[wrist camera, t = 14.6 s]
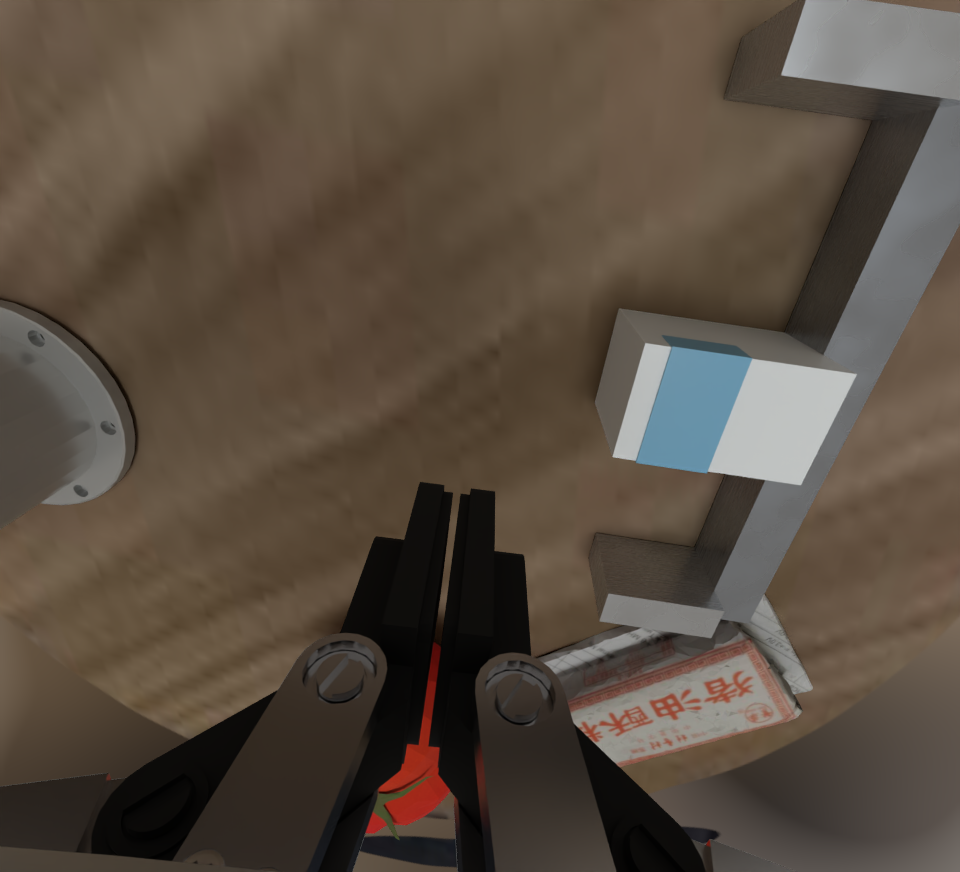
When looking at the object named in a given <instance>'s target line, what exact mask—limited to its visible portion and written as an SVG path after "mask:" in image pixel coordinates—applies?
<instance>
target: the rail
mask: <svg viewBox="0 0 960 872" xmlns="http://www.w3.org/2000/svg"><path fill="white" fill-rule="evenodd" d="M724 100H731V101H738V102H745V103H752V104H759V105H766V106H774V107H781V108H788V109H795V110H802V111H809V112H816V113H823V114H831V115H838V116H845V117H852V118H859V119H866V120H873V121H872V124H871V126H870V128H869V131H868V133H867V136H866V138H865V140H864V143H863V145H862V148H861V150H860V152H859V155H858V157H857V160H856V162H855V164H854V167H853V169H852V172H851V174H850V176H849V179H848V181H847V184H846V186H845V188H844V191H843V193H842V196H841V198H840V200H839V203H838V205H837V208H836V210H835V212H834V215H833V217H832V220H831V222H830V224H829V227H828V229H827V232H826V234H825V236H824V239H823V241H822V244H821V246H820V248H819V251H818V253H817V256H816V258H815V260H814V263H813V265H812V268H811V270H810V272H809V275H808V277H807V280H806V282H805V284H804V287H803V289H802V292H801V294H800V296H799V299H798V301H797V304H796V306H795V308H794V311H793V313H792V315H791V318H790V320H789V323H788V325H787V327H786V330H785V332H784V333H786V334H788V335H789V336H791V337H793V338H795V339H796V340H798V341H800V342H802V343H803V344H805V345H807V346H809V347H810V348H812V349H814V350H816V351H817V352H819V353H821V354H823V355H824V356H826V357H828V358H830V359H831V360H833V361H835V362H837V363H838V364H840V365H842V366H844V367H845V368H847V369H849V370H851V371H852V372H854V373H856V374H857V375H856V377H855V379H854V381H853V383H852V385H851V387H850V389H849V391H848V393H847V395H846V397H845V399H844V401H843V403H842V405H841V407H840V409H839V411H838V413H837V415H836V417H835V419H834V421H833V423H832V425H831V427H830V429H829V431H828V433H827V435H826V437H825V439H824V441H823V442H822V444H821V446H820V448H819V450H818V452H817V454H816V456H815V458H814V460H813V462H812V464H811V466H810V468H809V470H808V472H807V474H806V476H805V478H804V480H803V482H802V484H801V485H795V484H789V483H782V482H775V481H769V480H762V479H755V478H748V477H742V476H735V475H728V474H725V476H724V479H723V481H722V483H721V486H720V488H719V491H718V493H717V495H716V498H715V500H714V503H713V505H712V507H711V510H710V512H709V514H708V517H707V519H706V522H705V524H704V526H703V529H702V531H701V534H700V536H699V538H698V541H697V543H696V546H695V548H693V547H686V546H679V545H673V544H666V543H660V542H653V541H646V540H640V539H633V538H627V537H620V536H613V535H607V534H600V533H596V534H595V538H594V541H593V544H592V548H591V551H590V555H589V558H588V559H589V564H590V570H591V576H592V582H593V587H594V593H595V599H596V605H597V611H598V616H599V621H602V622H608V623H615V624H621V625H628V626H634V627H641V628H647V629H654V630H661V631H667V632H674V633H680V634H687V635H693V636H700V637H706V638H712V636H713V634H714V632H715V630H716V627H717V625H718V623H719V621H720V619H722V620H729V621H735V622H742V623H748V624H749V622H750V620H751V618H752V616H753V614H754V612H755V610H756V608H757V607H758V605H759V603H760V601H761V599H762V597H763V595H764V593H765V591H766V589H767V588H768V586H769V584H770V582H771V580H772V578H773V576H774V574H775V572H776V571H777V569H778V567H779V565H780V563H781V561H782V559H783V557H784V555H785V554H786V552H787V550H788V548H789V546H790V544H791V542H792V540H793V538H794V537H795V535H796V533H797V531H798V529H799V527H800V525H801V523H802V521H803V520H804V518H805V516H806V514H807V512H808V510H809V508H810V506H811V504H812V502H813V501H814V499H815V497H816V495H817V493H818V491H819V489H820V487H821V485H822V484H823V482H824V480H825V478H826V476H827V474H828V472H829V470H830V468H831V467H832V465H833V463H834V461H835V459H836V457H837V455H838V453H839V451H840V450H841V448H842V446H843V444H844V442H845V440H846V438H847V436H848V434H849V433H850V431H851V429H852V427H853V425H854V423H855V421H856V419H857V417H858V415H859V414H860V412H861V410H862V408H863V406H864V404H865V402H866V400H867V398H868V397H869V395H870V393H871V391H872V389H873V387H874V385H875V383H876V381H877V380H878V378H879V376H880V374H881V372H882V370H883V368H884V366H885V364H886V363H887V361H888V359H889V357H890V355H891V353H892V351H893V349H894V347H895V346H896V344H897V342H898V340H899V338H900V336H901V334H902V332H903V330H904V328H905V327H906V325H907V323H908V321H909V319H910V317H911V315H912V313H913V311H914V310H915V308H916V306H917V304H918V302H919V300H920V298H921V296H922V294H923V293H924V291H925V289H926V287H927V285H928V283H929V281H930V279H931V277H932V276H933V274H934V272H935V270H936V268H937V266H938V264H939V262H940V260H941V259H942V257H943V255H944V253H945V251H946V249H947V247H948V245H949V243H950V241H951V240H952V238H953V236H954V234H955V232H956V230H957V228H958V226H959V224H960V13H953V12H946V11H939V10H932V9H924V8H917V7H910V6H903V5H895V4H888V3H881V2H873V1H866V0H797V1H795V2H794V3H792V4H791V5H789V6H788V7H786V8H785V9H783V10H782V11H780V12H779V13H777V14H776V15H774V16H773V17H771V18H770V19H768V20H767V21H765V22H764V23H762V24H761V25H759V26H758V27H756V28H755V29H754V30H752V31H751V32H749V33H748V34H746V35H745V36H743V37H742V39H741V42H740V45H739V49H738V52H737V56H736V59H735V62H734V66H733V69H732V73H731V76H730V79H729V83H728V86H727V90H726V93H725V96H724Z"/></svg>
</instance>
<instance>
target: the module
mask: <svg viewBox="0 0 960 872" xmlns="http://www.w3.org/2000/svg"><path fill="white" fill-rule="evenodd" d="M856 375H857V374H856V373H854V372H852V371H851V370H849V369H847V368H845V367H844V366H842V365H840V364H838V363H837V362H835V361H833V360H831V359H830V358H828V357H826V356H824V355H823V354H821V353H819V352H817V351H816V350H814V349H812V348H810V347H809V346H807V345H805V344H803V343H802V342H800V341H798V340H796V339H795V338H793V337H791V336H789V335H788V334H786V333H784V332H778V331H772V330H765V329H758V328H751V327H744V326H737V325H730V324H724V323H717V322H710V321H703V320H696V319H689V318H682V317H675V316H669V315H662V314H655V313H648V312H641V311H634V310H627V309H621V308H619V310H618V313H617V317H616V321H615V325H614V329H613V333H612V337H611V341H610V345H609V349H608V353H607V357H606V361H605V365H604V368H603V372H602V376H601V380H600V384H599V388H598V392H597V396H596V400H595V405H596V408H597V411H598V414H599V417H600V420H601V423H602V426H603V429H604V432H605V436H606V439H607V442H608V445H609V448H610V451H611V454H612V457H615V458H622V459H628V460H635V461H636V463H640V464H647V465H654V466H660V467H667V468H674V469H681V470H687V471H694V472H701V473H707V472H715V473H722V474H728V475H735V476H742V477H748V478H755V479H762V480H769V481H775V482H782V483H789V484H795V485H801V484H802V482H803V480H804V478H805V476H806V474H807V472H808V470H809V468H810V466H811V464H812V462H813V460H814V458H815V456H816V454H817V452H818V450H819V448H820V446H821V444H822V442H823V441H824V439H825V437H826V435H827V433H828V431H829V429H830V427H831V425H832V423H833V421H834V419H835V417H836V415H837V413H838V411H839V409H840V407H841V405H842V403H843V401H844V399H845V397H846V395H847V393H848V391H849V389H850V387H851V385H852V383H853V381H854V379H855V377H856Z"/></svg>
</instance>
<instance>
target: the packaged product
mask: <svg viewBox="0 0 960 872" xmlns="http://www.w3.org/2000/svg"><path fill="white" fill-rule="evenodd" d="M537 659H539V660H540V661H542V662H543V663H544V664H546V665H547V666H549V667H550V668H551V669H552V671H553V672H554V673H555V674H556V675H557V677H558V678H559V680H560V682H561V684H562V687H563V689H564V691H565V695H566V698H567V702H568V705H569V709H570V712H571V716H572V719H573V723H574V724H575V725H576V726H577V727H578V728H579V729H580V730H581V731H582V732H583V733H584V734H585V735H586V736H588V737H589V738H590V739H591V740H592V741H593V742H594V743H595V744H596V745H597V746H598V747H599V748H600V749H601V750H602V751H603V752H604V753H605V754H606V755H607V756H608V757H609V758H610V759H611V760H612V761H614V762H615V763H616V764H617V765H618V766H619V767H622V766H625V765H628V764H632V763H636V762H641V761H644V760H647V759H650V758H654V757H658V756H663V755H667V754H670V753H673V752H677V751H682V750H685V749H688V748H691V747H694V746H698V745H702V744H705V743H709V742H714V741H716V740H718V739H723V738H728V737H731V736H734V735H737V734H740V733H747V732H750V731H754V730H756V729H759V728H765V727H769V726H773V725H776V724H779V723H784V722H788V721H790V720H791V719H795V718H797V717H798V716H799V715H800V713H801V712H802V711H803V710H802V708H801V706H800V704H799V702H798V700H797V699H796V697H795V695H794V694H797V693H801V692H806V691H810V690H812V689H813V687H812V684H811V682H810V680H809V678H808V676H807V674H806V671H805V669H804V667H803V665H802V664H801V662H800V660H799V659H798V657H797V655H796V654H795V652H794V650H793V648H792V646H791V643H790V641H789V639H788V637H787V635H786V633H785V630H784V629H783V627H782V625H781V623H780V621H779V619H778V617H777V615H776V613H775V611H774V609H773V607H772V606H771V604H770V602H769V600H768V599H767V597H766V596H765V594H764V595H763V597H762V599H761V601H760V603H759V605H758V607H757V608H756V610H755V612H754V614H753V616H752V618H751V620H750V622H749V624H748V623H742V622H735V621H729V620H722V619H720V621H719V623H718V625H717V627H716V630H715V632H714V634H713V636H712V638H706V637H700V636H693V635H687V634H680V633H674V632H667V631H661V630H654V629H647V628H641V627H634V626H628V625H625V626H622V627H618V628H615V629H612V630H609V631H605V632H603V633H600V634H598V635H596V636H592V637H590V638H587V639H585V640H583V641H581V642H579V643H577V644H574V645H572V646H568V647H565V648H563V649H560V650H558V651H556V652H553V653H551V654H549V655H546V656H542V657H539V658H537Z"/></svg>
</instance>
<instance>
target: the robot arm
mask: <svg viewBox="0 0 960 872" xmlns="http://www.w3.org/2000/svg"><path fill="white" fill-rule="evenodd" d="M134 451H135V432H134V426H133V420H132V417H131V414H130V411H129V408H128V406H127V403H126V400H125V398H124V396H123V395H122V393H121V391H120V389H119V387H118V386H117V384H116V382H115V380H114V379H113V377H112V376H111V375H110V374H109V372H108V371H107V370H106V368H105V367H104V366H103V364H102V363H101V362H100V360H99V359H98V358H97V357H96V356H95V355H94V354H93V353H92V352H91V351H90V350H89V349H88V348H87V347H86V346H85V345H84V344H83V343H82V342H80V341H79V340H78V339H77V338H75V337H74V336H73V335H71V334H70V333H69V332H68V331H66V330H65V329H64V328H62V327H61V326H60V325H58V324H56V323H54V322H53V321H51V320H49V319H48V318H46V317H44V316H43V315H41V314H39V313H37V312H35V311H32V310H30V309H27V308H25V307H23V306H20V305H18V304H15V303H12V302H8V301H3V300H0V529H2V528H3V527H5V526H7V525H8V524H10V523H11V522H13V521H14V520H16V519H17V518H19V517H20V516H22V515H23V514H25V513H26V512H28V511H29V510H31V509H32V508H34V507H35V506H37V505H38V504H40V503H43V504H52V505H71V504H80V503H83V502H87V501H90V500H93V499H95V498H97V497H99V496H100V495H102V494H103V493H105V492H107V491H108V490H109V489H111V488H112V487H113V486H114V485H115V484H117V483H118V482H119V481H120V480H122V478H123V477H124V475H125V474H126V472H127V471H128V469H129V468H130V465H131V462H132V459H133V456H134ZM452 497H453V493H451V492H444V485H440V484H432V483H424V482H420V484H419V487H418V491H417V495H416V498H415V502H414V506H413V509H412V513H411V517H410V521H409V524H408V528H407V532H406V535H405V539H404V540H401V539H393V538H385V537H377V536H376V537H375V538H374V541H373V543H372V546H371V549H370V551H369V554H368V557H367V560H366V563H365V565H364V568H363V571H362V574H361V577H360V579H359V582H358V585H357V588H356V591H355V593H354V596H353V599H352V602H351V605H350V607H349V610H348V613H347V616H346V619H345V621H344V624H343V627H342V630H341V633H340V634H332V635H329V636H327V637H324V638H322V639H319V640H317V641H316V642H314V643H313V644H311V645H310V646H309V647H307V648H306V649H305V650H304V651H303V653H302V654H301V655H300V656H299V657H298V659H297V660H296V662H295V663H294V665H293V667H292V668H291V670H290V671H289V673H288V675H287V676H286V678H285V679H284V681H283V683H282V684H281V686H280V688H279V689H278V690H277V691H275V692H273V693H272V694H270V695H268V696H266V697H265V698H263V699H261V700H259V701H258V702H256V703H254V704H252V705H250V706H249V707H247V708H245V709H243V710H242V711H240V712H238V713H236V714H234V715H233V716H231V717H229V718H227V719H226V720H224V721H222V722H220V723H218V724H217V725H215V726H213V727H211V728H210V729H208V730H206V731H204V732H202V733H201V734H199V735H197V736H195V737H194V738H192V739H190V740H188V741H186V742H185V743H183V744H181V745H179V746H178V747H176V748H174V749H172V750H170V751H169V752H167V753H165V754H163V755H162V756H160V757H158V758H156V759H154V760H153V761H151V762H149V763H147V764H146V765H144V766H143V767H141V768H140V769H139V770H137V771H136V772H134V773H133V774H131V775H130V776H129V777H127V778H121V779H113V780H111V778H110V775H109V773H103V774H95V775H87V776H79V777H71V778H63V779H56V780H48V781H41V782H32V783H24V784H17V785H9V786H0V872H352V871H353V868H354V865H355V863H356V860H357V857H358V854H359V851H360V848H361V845H362V842H363V839H364V836H365V833H366V830H367V827H368V825H369V822H370V819H371V816H372V813H373V810H374V807H375V804H376V801H377V798H378V793H379V787H381V786H382V785H383V784H384V783H386V782H387V781H388V780H389V779H391V778H392V777H393V776H394V775H396V774H397V773H398V772H399V771H401V767H402V764H404V761H405V755H406V749H407V744H412V745H419V740H420V733H421V726H422V719H423V712H424V705H425V698H426V691H427V684H428V677H429V671H430V664H431V657H432V650H433V643H434V636H435V629H436V622H437V615H438V608H439V601H440V594H441V587H442V579H443V571H444V562H445V554H446V546H447V538H448V530H449V522H450V513H451V505H452ZM494 545H495V491H487V490H479V489H471V492H470V495H467V494H461V496H460V503H459V511H458V518H457V526H456V534H455V541H454V549H453V557H452V564H451V572H450V580H449V587H448V595H447V603H446V611H445V618H444V626H443V634H442V642H441V650H440V658H439V665H438V673H437V681H436V689H435V697H434V705H433V713H432V720H431V728H430V736H429V744H428V746H429V747H438V748H439V758H438V767H437V768H439V770H438V775H439V776H440V778H441V779H442V780H443V782H444V783H445V784H446V786H447V787H448V788H449V790H450V791H451V792H452V793H453V795H454V796H455V798H454V820H455V836H456V854H457V871H458V872H797V871H794V870H792V869H789V868H786V867H784V866H781V865H778V864H776V863H773V862H770V861H768V860H765V859H762V858H759V857H757V856H754V855H751V854H749V853H746V852H744V851H741V850H738V849H735V848H733V847H730V846H727V845H725V844H722V843H719V842H717V841H714V840H711V839H709V841H708V843H707V844H706V845H705V844H702V843H699V842H697V841H694V840H691V838H690V837H689V836H688V835H687V834H686V832H685V831H684V830H683V829H682V828H681V827H680V825H679V824H678V823H677V822H676V821H675V820H674V819H673V818H672V817H671V816H670V815H669V814H668V813H667V812H665V811H664V810H663V809H662V808H661V807H660V806H659V805H658V804H657V803H656V802H655V801H654V800H653V799H652V798H651V797H650V796H649V795H648V794H647V793H646V792H645V791H644V790H643V789H642V788H641V787H640V786H638V785H637V784H636V783H635V782H634V781H633V780H632V779H631V778H630V777H629V776H628V775H627V774H626V773H625V772H624V771H623V770H622V769H621V768H620V767H619V766H618V765H617V764H616V763H615V762H614V761H612V760H611V759H610V758H609V757H608V756H607V755H606V754H605V753H604V752H603V751H602V750H601V749H600V748H599V747H598V746H597V745H596V744H595V743H594V742H593V741H592V740H591V739H590V738H589V737H588V736H586V735H585V734H584V733H583V732H582V731H581V730H580V729H579V728H578V727H577V726H576V725H575V724H574V723H573V719H572V716H571V712H570V709H569V705H568V702H567V698H566V695H565V691H564V689H563V687H562V684H561V682H560V680H559V678H558V677H557V675H556V674H555V673H554V672H553V671H552V669H551V668H550V667H549V666H547V665H546V664H544V663H543V662H542V661H540V660H539V659H537V658H534V657H532V656H531V647H530V632H529V617H528V602H527V588H526V573H525V560H524V556H523V555H522V554H514V553H506V552H498V551H494Z"/></svg>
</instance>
